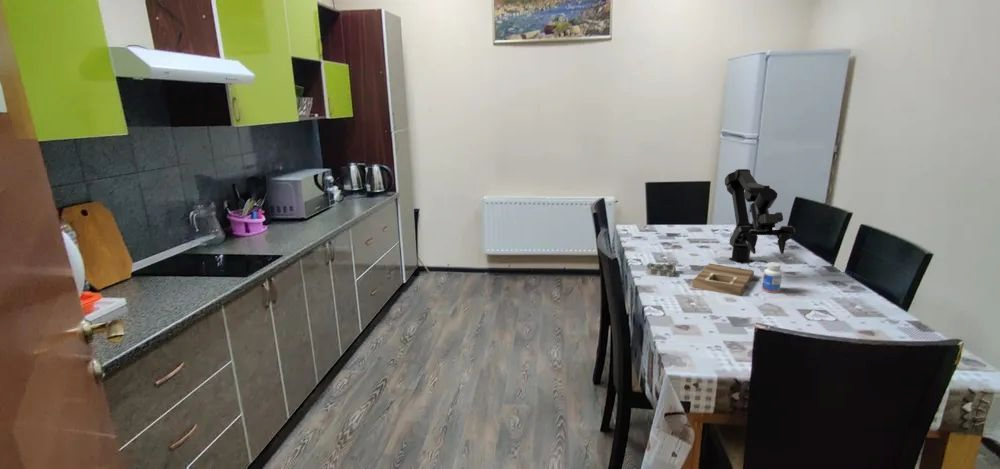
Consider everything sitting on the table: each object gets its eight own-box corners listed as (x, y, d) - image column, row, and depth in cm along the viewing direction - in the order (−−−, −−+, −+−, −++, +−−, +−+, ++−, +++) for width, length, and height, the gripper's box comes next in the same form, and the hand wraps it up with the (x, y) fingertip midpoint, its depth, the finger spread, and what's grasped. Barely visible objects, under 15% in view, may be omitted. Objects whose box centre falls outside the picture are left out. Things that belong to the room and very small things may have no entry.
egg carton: (677, 272, 194) (678, 262, 193) (672, 278, 188) (672, 268, 187) (650, 268, 200) (650, 258, 199) (644, 274, 194) (644, 264, 193)
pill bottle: (758, 288, 176) (761, 261, 173) (773, 287, 176) (776, 261, 174) (767, 293, 171) (771, 267, 168) (782, 292, 171) (786, 266, 168)
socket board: (708, 269, 196) (709, 262, 195) (753, 276, 186) (754, 270, 186) (692, 287, 179) (692, 280, 178) (740, 296, 169) (741, 288, 169)
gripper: (740, 204, 178) (747, 242, 170) (796, 204, 175) (806, 242, 167) (731, 220, 187) (738, 257, 180) (784, 220, 184) (793, 258, 177)
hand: (768, 253), depth 176 cm, fingers open, 9 cm apart
